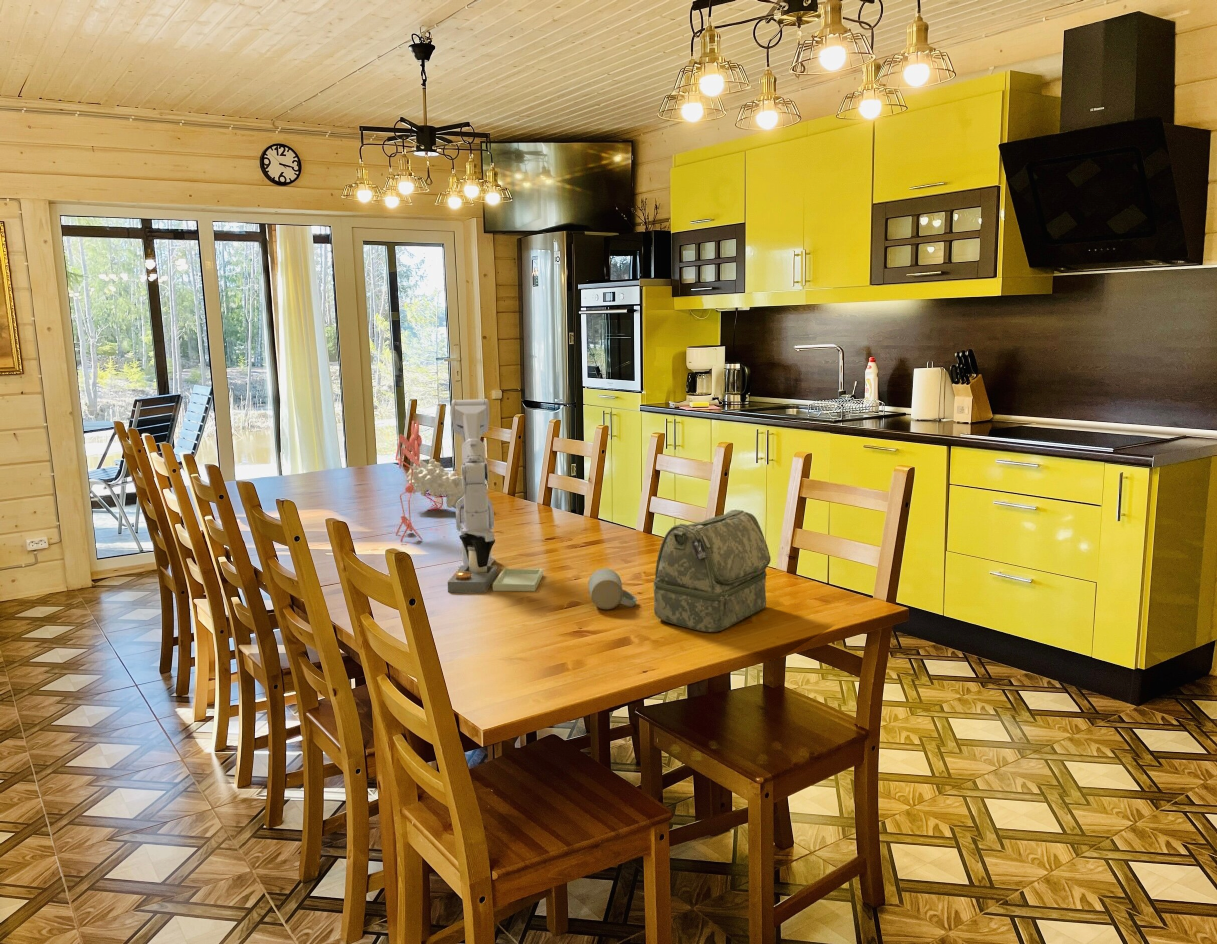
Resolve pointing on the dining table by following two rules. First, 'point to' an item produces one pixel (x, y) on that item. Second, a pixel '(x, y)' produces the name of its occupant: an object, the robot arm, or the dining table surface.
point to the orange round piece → (463, 575)
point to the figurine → (414, 457)
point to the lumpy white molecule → (436, 483)
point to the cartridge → (474, 562)
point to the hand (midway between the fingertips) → (477, 564)
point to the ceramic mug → (608, 590)
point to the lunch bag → (711, 572)
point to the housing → (473, 580)
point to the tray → (518, 580)
